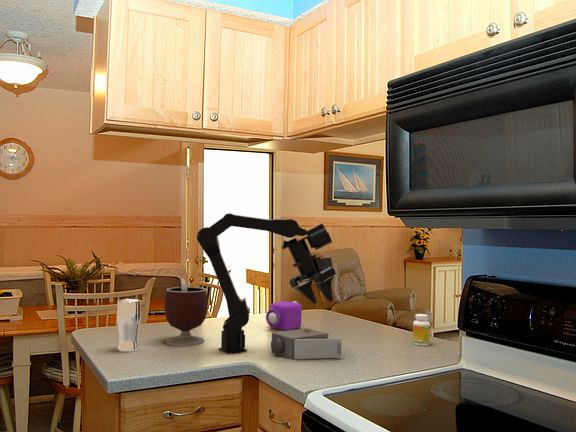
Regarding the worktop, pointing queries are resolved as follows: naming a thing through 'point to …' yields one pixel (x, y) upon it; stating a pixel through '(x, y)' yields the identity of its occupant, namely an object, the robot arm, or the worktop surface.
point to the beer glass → (128, 324)
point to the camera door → (317, 348)
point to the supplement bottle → (421, 330)
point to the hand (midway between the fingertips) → (323, 302)
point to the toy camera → (284, 315)
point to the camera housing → (292, 340)
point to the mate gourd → (185, 312)
